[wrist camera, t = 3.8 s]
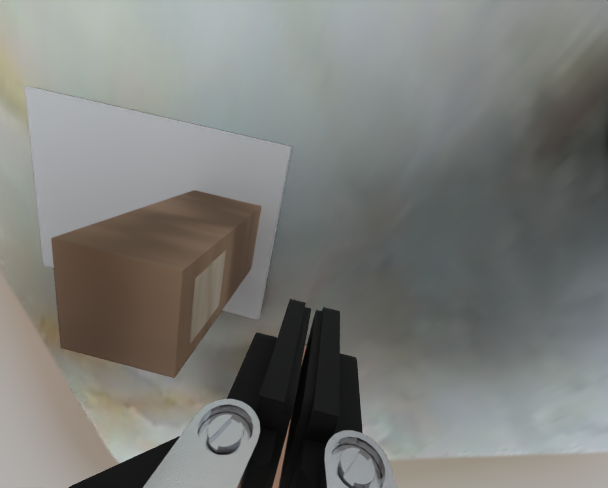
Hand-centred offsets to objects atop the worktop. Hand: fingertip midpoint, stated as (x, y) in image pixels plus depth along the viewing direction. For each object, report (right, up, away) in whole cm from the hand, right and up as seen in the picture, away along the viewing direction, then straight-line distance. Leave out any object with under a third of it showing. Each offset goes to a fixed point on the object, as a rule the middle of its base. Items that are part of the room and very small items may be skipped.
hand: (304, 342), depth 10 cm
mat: (-9, +5, +9) cm, 14 cm away
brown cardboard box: (-5, +4, +8) cm, 10 cm away
